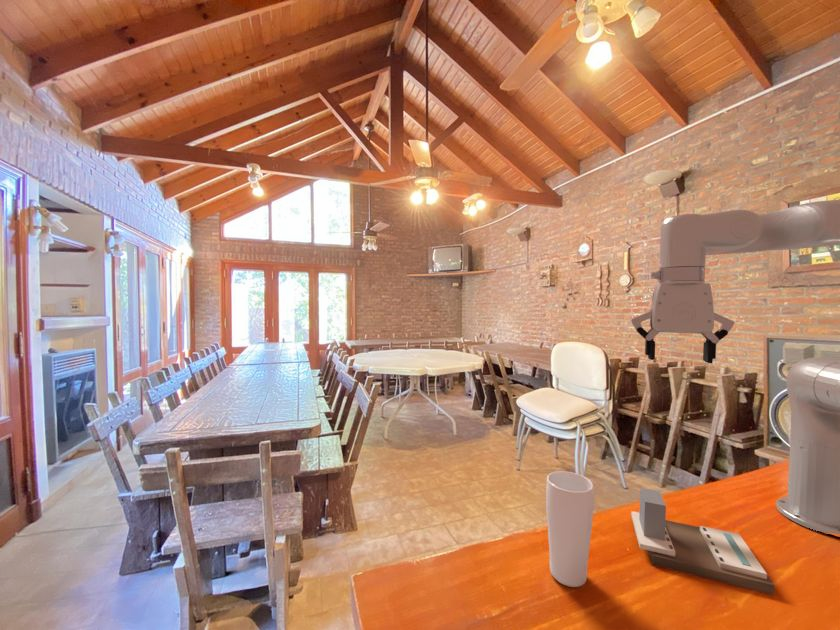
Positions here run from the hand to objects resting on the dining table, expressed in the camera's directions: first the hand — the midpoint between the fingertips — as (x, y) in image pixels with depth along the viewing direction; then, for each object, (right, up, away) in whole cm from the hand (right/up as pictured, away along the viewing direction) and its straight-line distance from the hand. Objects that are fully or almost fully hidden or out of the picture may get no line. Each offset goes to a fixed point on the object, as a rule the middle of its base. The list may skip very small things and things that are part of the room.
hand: (678, 360), depth 74 cm
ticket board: (-6, -31, -13) cm, 34 cm away
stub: (-13, -29, -11) cm, 34 cm away
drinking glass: (-30, -31, -18) cm, 47 cm away
